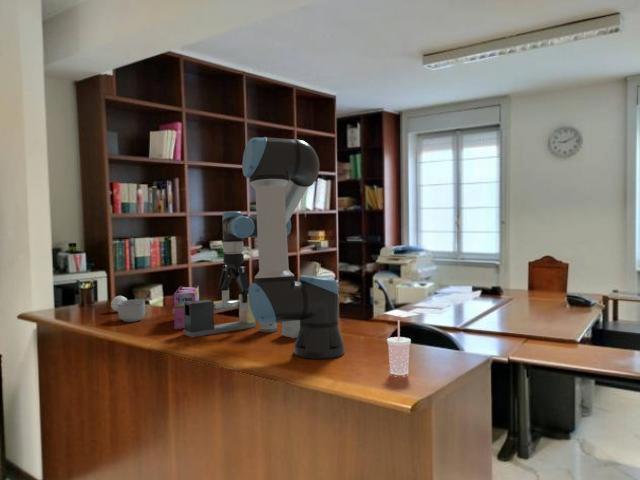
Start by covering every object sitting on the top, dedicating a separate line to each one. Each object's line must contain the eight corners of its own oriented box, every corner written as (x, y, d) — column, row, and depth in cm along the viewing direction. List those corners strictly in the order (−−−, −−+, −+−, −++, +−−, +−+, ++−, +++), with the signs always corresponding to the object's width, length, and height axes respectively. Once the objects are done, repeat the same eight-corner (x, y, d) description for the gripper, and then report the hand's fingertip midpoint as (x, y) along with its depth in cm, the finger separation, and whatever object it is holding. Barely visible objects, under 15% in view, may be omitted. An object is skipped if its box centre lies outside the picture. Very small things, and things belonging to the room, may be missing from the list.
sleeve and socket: (191, 332, 179) (190, 302, 179) (184, 330, 184) (183, 300, 183) (255, 322, 195) (254, 295, 195) (247, 320, 200) (246, 293, 199)
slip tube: (208, 312, 184) (208, 304, 184) (204, 311, 187) (204, 303, 187) (250, 307, 195) (249, 299, 195) (246, 306, 198) (245, 298, 198)
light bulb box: (303, 330, 187) (303, 301, 187) (316, 333, 182) (316, 303, 182) (281, 335, 180) (281, 304, 179) (294, 338, 175) (293, 307, 175)
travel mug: (275, 333, 184) (274, 277, 183) (257, 332, 185) (256, 277, 184) (279, 329, 190) (279, 275, 189) (262, 328, 191) (261, 275, 190)
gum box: (181, 317, 217) (180, 285, 216) (200, 316, 218) (199, 285, 217) (174, 329, 193) (173, 293, 192) (195, 328, 194) (194, 292, 194)
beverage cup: (389, 369, 137) (388, 317, 136) (412, 371, 135) (411, 318, 134) (385, 376, 131) (384, 322, 130) (409, 378, 129) (409, 323, 128)
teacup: (148, 321, 209) (148, 301, 209) (121, 324, 203) (120, 304, 203) (139, 316, 221) (139, 297, 221) (113, 319, 215) (112, 300, 215)
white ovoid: (113, 310, 235) (113, 294, 235) (130, 310, 236) (130, 294, 236) (107, 314, 225) (106, 298, 225) (124, 314, 226) (124, 297, 226)
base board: (192, 337, 179) (191, 332, 179) (183, 333, 184) (183, 329, 184) (256, 326, 195) (256, 323, 195) (246, 324, 200) (246, 320, 200)
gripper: (259, 253, 185) (260, 312, 185) (226, 251, 204) (227, 304, 205) (241, 254, 180) (242, 314, 181) (209, 252, 199) (210, 306, 200)
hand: (234, 309), depth 193 cm, fingers open, 13 cm apart
